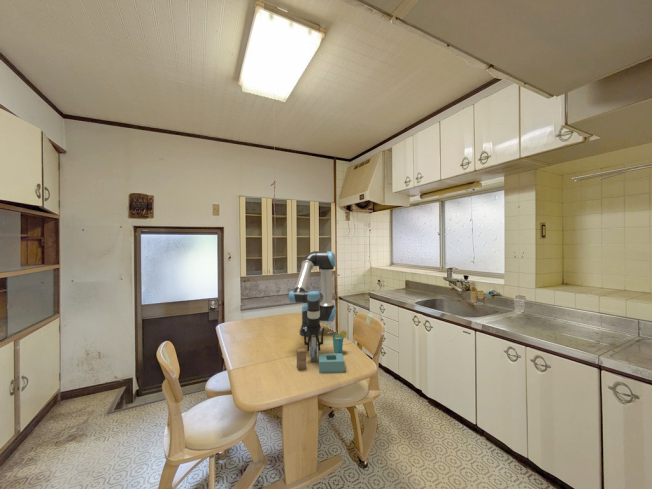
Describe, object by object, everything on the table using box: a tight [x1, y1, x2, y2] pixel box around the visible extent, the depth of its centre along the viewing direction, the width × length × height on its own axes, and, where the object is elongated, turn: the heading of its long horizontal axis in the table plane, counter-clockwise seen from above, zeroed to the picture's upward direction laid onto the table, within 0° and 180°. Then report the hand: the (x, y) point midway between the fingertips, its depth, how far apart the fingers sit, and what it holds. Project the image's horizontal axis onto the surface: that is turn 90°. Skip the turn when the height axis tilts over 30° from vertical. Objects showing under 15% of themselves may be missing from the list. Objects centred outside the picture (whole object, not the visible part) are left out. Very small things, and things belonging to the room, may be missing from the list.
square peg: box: [296, 348, 307, 371], centre depth 143 cm, size 4×4×10 cm
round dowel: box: [309, 335, 318, 363], centre depth 152 cm, size 4×4×15 cm
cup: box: [326, 330, 348, 354], centre depth 163 cm, size 14×8×15 cm, turn 119°
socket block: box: [318, 352, 346, 374], centre depth 143 cm, size 10×14×6 cm
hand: (313, 355), depth 152 cm, fingers closed on round dowel, 4 cm apart
